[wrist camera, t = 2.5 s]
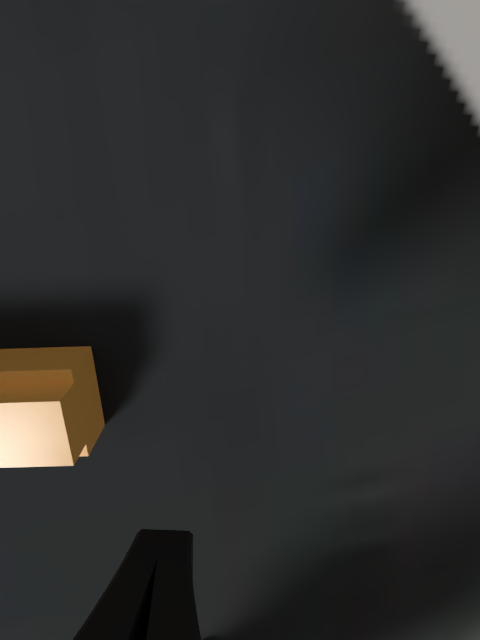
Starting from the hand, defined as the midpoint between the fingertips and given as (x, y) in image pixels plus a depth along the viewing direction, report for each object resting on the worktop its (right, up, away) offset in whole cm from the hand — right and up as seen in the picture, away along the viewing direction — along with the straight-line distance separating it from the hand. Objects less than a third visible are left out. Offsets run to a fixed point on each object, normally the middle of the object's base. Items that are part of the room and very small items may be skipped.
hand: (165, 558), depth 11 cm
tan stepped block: (-8, +3, +8) cm, 12 cm away
